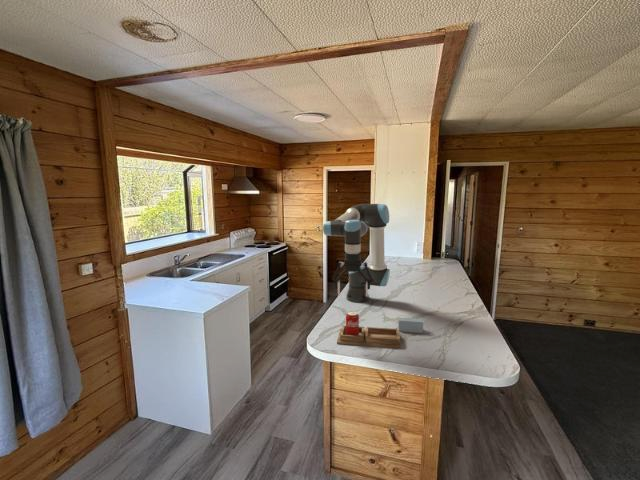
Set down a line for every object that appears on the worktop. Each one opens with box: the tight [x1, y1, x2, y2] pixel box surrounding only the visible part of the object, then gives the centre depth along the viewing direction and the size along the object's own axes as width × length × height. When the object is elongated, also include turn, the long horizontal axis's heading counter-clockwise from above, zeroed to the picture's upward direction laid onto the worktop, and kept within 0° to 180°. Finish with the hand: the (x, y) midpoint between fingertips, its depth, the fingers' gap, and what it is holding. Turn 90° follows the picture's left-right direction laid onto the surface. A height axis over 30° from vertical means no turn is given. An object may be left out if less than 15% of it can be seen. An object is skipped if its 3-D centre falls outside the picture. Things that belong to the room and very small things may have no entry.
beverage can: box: [345, 310, 360, 336], centre depth 156 cm, size 6×6×12 cm
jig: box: [336, 324, 402, 349], centre depth 155 cm, size 14×30×4 cm, turn 80°
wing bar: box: [397, 317, 424, 334], centre depth 164 cm, size 4×12×6 cm, turn 80°
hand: (352, 294), depth 153 cm, fingers open, 13 cm apart
